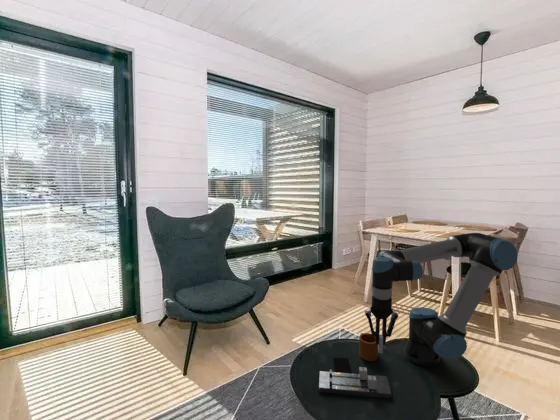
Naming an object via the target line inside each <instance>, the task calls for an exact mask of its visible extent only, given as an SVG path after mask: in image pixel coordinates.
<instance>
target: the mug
mask: <svg viewBox="0 0 560 420" xmlns="http://www.w3.org/2000/svg"><path fill="white" fill-rule="evenodd" d="M375 339H376V336H372V334H371V332H368V333H367V332H364V333H363V332H362V333H360V335H359V336H358V356H359V358H360V359H362V360H363V361H367V362H375V361H376V360H378V359H379V351H378V344H376V341H375Z"/></svg>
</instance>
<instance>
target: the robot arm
mask: <svg viewBox="0 0 560 420" xmlns="http://www.w3.org/2000/svg"><path fill="white" fill-rule="evenodd" d="M451 257H453V258H461V257H465V258H470V259H469V263H470V268H469V269H468V271H467V272H466V275H465V277H464V278H463V281H462V282H461V283H460V285H459V286H458V289H457V291H456V292H455V295H453V298H452V299H451V301H450V303H449V304H448V306H447V308H446V310H445V312H444V314H442V315H439V314H438V311H436V310H435V309H433V308H430V307H414V308H412V309H410V311H409V316H408V318H409V319H408V321H409V322H408V323H409V325H408V329H409V330H408V340H407V342H406V344H405V346H404V352H403V353H404V356H405V358H406V359H407V360H409V361H410V362H412V363H413V364H416V365H419V366H423V367H435V366H437V365H438V364H440V361H441V358H443V359H444V360H452V361H453V360H456V359H459V358H461V357H462V356H463V355H464V354H465V353H466V351H467V349H468V342H467V340H466V339H465V338H466V336H467V330H466V327H467V325H468V323H469V321H470V320H471V318H472V316H473V314H474V313H475V310H476V309H477V308H478V306H479V304H480V302H481V300H482V298H483V297H484V295H485V293H486V292H487V290H488V288H489V287H490V285H491V282H492V281H493V279H494V278H495V277H497V276H501V275H502V273H503V271H509V270H510V269H512V268H514V266H515V265H516V264H517V261H518V251H517V247H516V246H515V245H514V243H512V242H511V241H509V240H505V239H504V238H501V237H496V236H492V235H488V234H485V233H481V232H467V233H462V234H457V235H452V236H448V237H447V239H445V240H441V241H435V242H431V243H426V244H423V245H418V246H413V247H409V248H404V249H400V250H395V251H394V250H393V251H390V250H385V249H384V250H381V251H380V252H379V253H378V254H377V257H375V258H374V259H373V260H372V267H371V270H372V274H371V275H372V282H371V283H372V284H371V285H372V286H371V306H370V308H369V310H365V311H364V315H365V317H366V318H367V320H368V324H369V329H370V334H372V336H376V339H375V341H376V344H378V354H383V353H384V346H386V344H387V338H388V337H389V338H391V337H392V334H393V330H394V327H395V325H396V322H397V321H396V320H397V319H398V318H399V314H398V312H397V311H394V310H393V308H392V306H393V305H392V302H393V298H392V297H393V283H395V282H405V281H407V282H408V281H416V280H420V279H421V278H423V274H424V269H423V266H422V264H424V263H427V262H431V261H437V260H442V259H446V258H451ZM372 315H373V316H374V317H375V328H374V325H373V321H372ZM389 317H390V320H389V322H388V319H389ZM381 321H382V323H381ZM380 323H381V324H380ZM388 323H389V324H388ZM387 324H388V326H387ZM380 325H382V326H380ZM381 328H382V329H381ZM380 329H381V330H380ZM380 331H381V334H380Z"/></svg>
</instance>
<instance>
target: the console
mask: <svg viewBox="0 0 560 420" xmlns="http://www.w3.org/2000/svg"><path fill="white" fill-rule="evenodd" d="M368 376H376V380H377V381H376V389H368ZM318 377H319V378H318V379H319V382H318V393H327V394H328V393H329V394H337V395H338V394H339V395H348V396H358V397H359V396H361V397H369V398H371V397H372V398H379V399H380V398H382V399H392V394H393V393H392V391H391V386H390V382H389V379H388V376H384V375H372V374H371V375H370V374H367V380H360V379H359V373H352V374H350V373H338V372H335V371H333V369H329V371H324V370H320V371H319V376H318Z"/></svg>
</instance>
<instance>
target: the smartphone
mask: <svg viewBox="0 0 560 420" xmlns="http://www.w3.org/2000/svg"><path fill="white" fill-rule="evenodd" d="M332 363H333V369H334V372H338V373H350V374H353V373H352V369H351V365H350V361H349V358H347V357H333V358H332Z"/></svg>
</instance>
